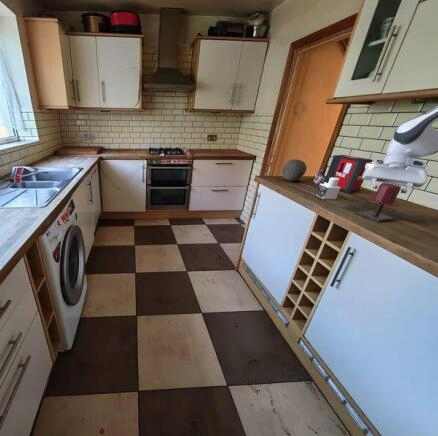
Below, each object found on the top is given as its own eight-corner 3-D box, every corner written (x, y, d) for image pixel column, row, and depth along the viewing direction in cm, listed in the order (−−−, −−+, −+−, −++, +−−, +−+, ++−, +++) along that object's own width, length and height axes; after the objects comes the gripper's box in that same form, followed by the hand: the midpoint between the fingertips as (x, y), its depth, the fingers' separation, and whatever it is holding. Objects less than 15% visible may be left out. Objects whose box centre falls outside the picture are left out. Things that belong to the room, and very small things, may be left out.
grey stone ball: (301, 185, 153) (309, 162, 146) (278, 181, 160) (284, 159, 153) (302, 180, 164) (309, 159, 157) (280, 177, 170) (286, 156, 164)
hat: (404, 205, 101) (414, 188, 97) (386, 206, 99) (396, 189, 95) (378, 197, 110) (386, 181, 106) (361, 198, 108) (369, 182, 104)
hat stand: (393, 220, 104) (410, 189, 98) (378, 222, 103) (394, 190, 96) (371, 212, 112) (386, 183, 106) (357, 213, 111) (371, 183, 104)
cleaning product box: (358, 191, 143) (373, 159, 134) (349, 193, 140) (364, 160, 131) (330, 184, 157) (342, 154, 148) (322, 185, 153) (333, 155, 145)
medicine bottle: (315, 195, 135) (322, 175, 130) (327, 195, 135) (335, 175, 129) (323, 199, 128) (331, 178, 123) (335, 199, 128) (344, 179, 123)
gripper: (368, 157, 107) (361, 181, 104) (432, 164, 96) (425, 191, 93) (363, 165, 112) (356, 188, 110) (423, 172, 101) (417, 198, 98)
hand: (389, 190), depth 101 cm, fingers open, 8 cm apart
